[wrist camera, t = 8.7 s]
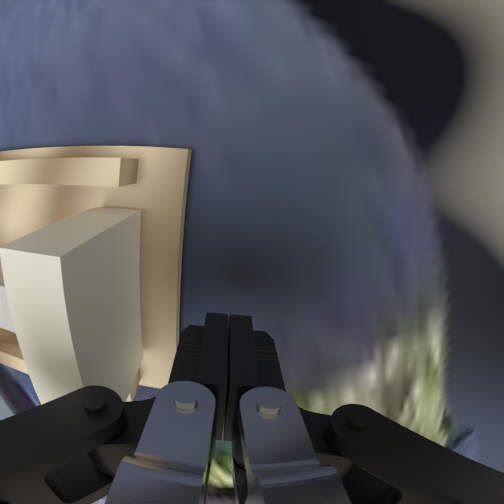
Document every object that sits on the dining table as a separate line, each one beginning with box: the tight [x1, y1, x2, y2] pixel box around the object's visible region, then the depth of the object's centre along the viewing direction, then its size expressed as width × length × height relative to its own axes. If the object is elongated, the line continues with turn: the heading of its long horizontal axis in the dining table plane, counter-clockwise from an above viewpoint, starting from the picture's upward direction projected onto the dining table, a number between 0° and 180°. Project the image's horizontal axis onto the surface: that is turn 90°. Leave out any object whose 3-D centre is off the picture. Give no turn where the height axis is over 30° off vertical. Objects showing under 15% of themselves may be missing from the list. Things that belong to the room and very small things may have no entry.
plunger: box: [0, 207, 143, 405], centre depth 8 cm, size 10×7×6 cm
